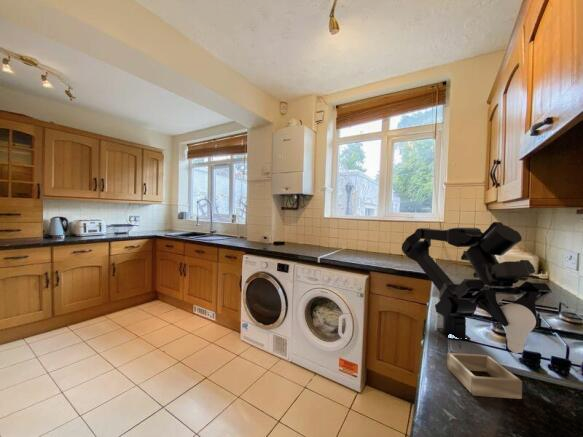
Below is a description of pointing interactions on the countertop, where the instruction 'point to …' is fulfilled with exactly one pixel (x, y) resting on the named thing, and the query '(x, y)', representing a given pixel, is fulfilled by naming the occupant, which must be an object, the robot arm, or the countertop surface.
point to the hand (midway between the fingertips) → (521, 326)
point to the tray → (493, 386)
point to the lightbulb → (518, 325)
